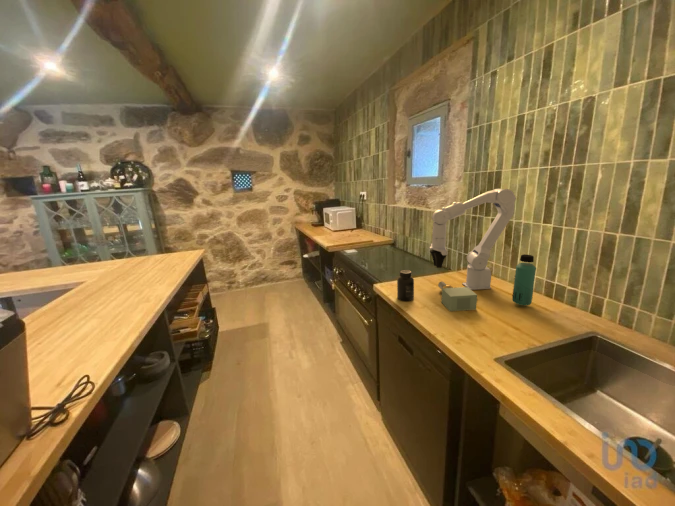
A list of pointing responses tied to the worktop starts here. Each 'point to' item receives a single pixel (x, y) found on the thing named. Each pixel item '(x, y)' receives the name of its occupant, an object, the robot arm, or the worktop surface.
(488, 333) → the worktop surface
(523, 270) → the beverage bottle
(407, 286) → the supplement bottle
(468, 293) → the block
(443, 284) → the shaft
